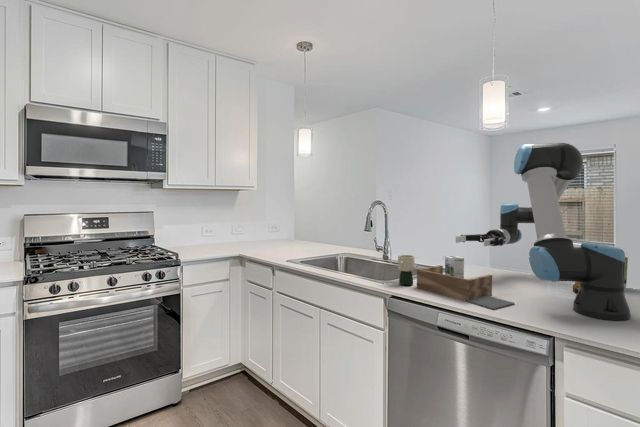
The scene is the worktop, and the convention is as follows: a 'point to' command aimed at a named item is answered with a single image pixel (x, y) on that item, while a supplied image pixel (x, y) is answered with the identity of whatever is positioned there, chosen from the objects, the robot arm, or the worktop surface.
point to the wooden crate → (453, 284)
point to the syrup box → (454, 266)
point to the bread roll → (576, 287)
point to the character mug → (406, 269)
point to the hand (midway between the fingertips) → (469, 241)
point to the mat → (490, 302)
